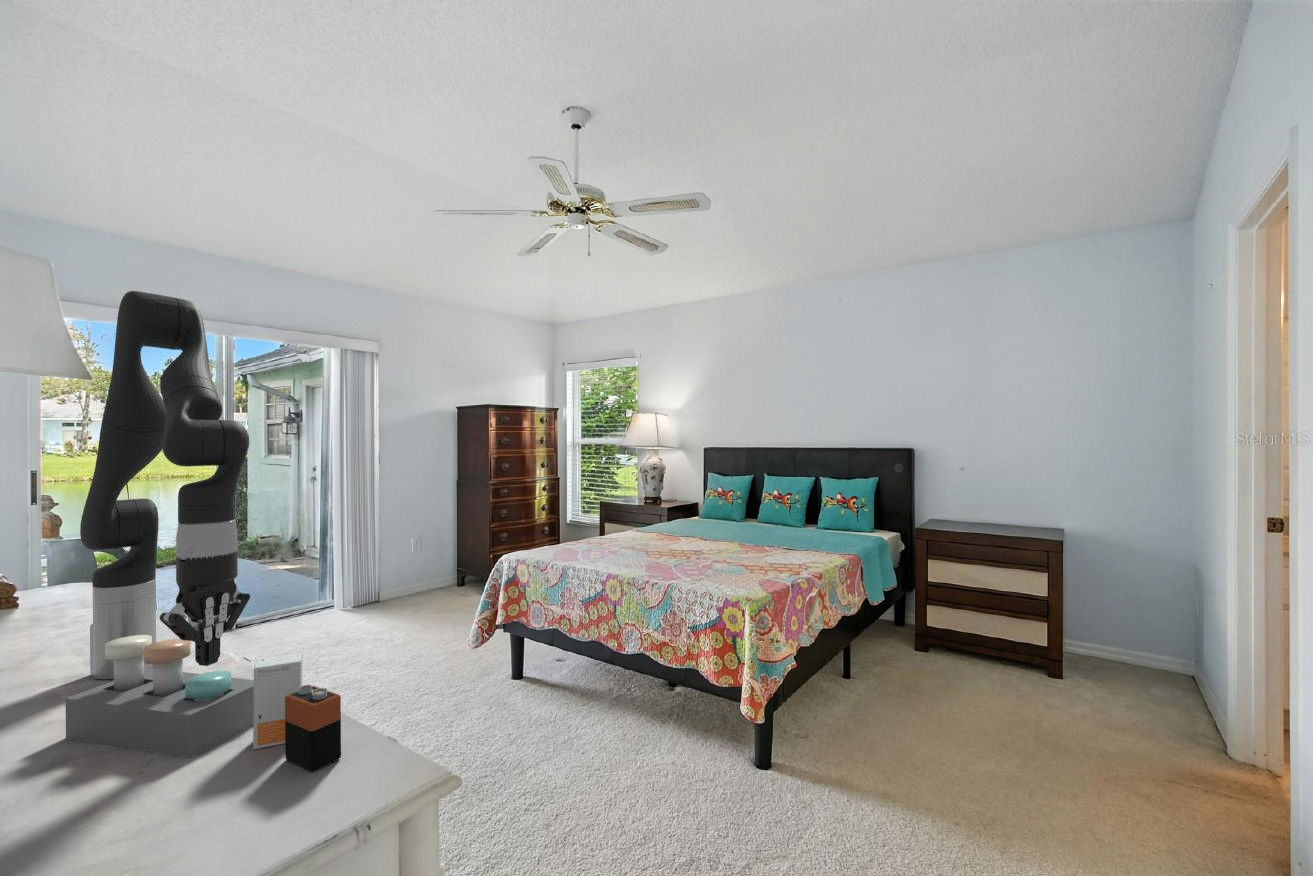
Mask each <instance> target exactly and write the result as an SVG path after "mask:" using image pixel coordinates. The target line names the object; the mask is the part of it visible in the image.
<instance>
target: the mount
mask: <svg viewBox="0 0 1313 876" xmlns="http://www.w3.org/2000/svg"><path fill="white" fill-rule="evenodd" d="M199 674H200V673H194V672H185V671H183V690H181V691H178V692H176V693H173V694H171V695H168V696H166V697H159V696H153V668H149V669H146V670H144V685H142V686H139V687H136V688H134V689H131V690H128V691H126V692H119V691H114V680H112V681H111V682H108V683H105V684H102V685H99V686H96V687H94V688H93V687H92V688H89V689H87V690H85V691H82V692H79V693H76V694H74V695H71V696H68V697H65V739H71V740H76V741H84V742H90V743H95V744H101V745H109V746H114V747H115V746H116V747H122V748H128V749H134V750H140V751H147V752H152V753H161V754H167V755H172V756H178V757H184V758H185V757H186V758H192V757H194V756H196V755H198V754H200V753H202V752H204V751H206V750H207V749H210V748H211V747H213V746H215V745H217V744H219V743H221V742H222V741H225V740H227V739H229V738H230V737H232V736H234V735H236V734H239V733H240V732H242V731H244V730H246V729H247V728H249V727H250V728H251V727H252V726H253V716H254V679H246V678H238V677H231V688H230V689H229V690H228V691H226V692H224V693H223V695H222V696H220V697H217V698H215V699H213V700H211V701H208V702H198V701H194V699H189V698H186V696H185V682H186V681H187V680H188V679H189V678H191V677H193V676H196V675H199Z"/></svg>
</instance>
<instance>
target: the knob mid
mask: <svg viewBox="0 0 1313 876" xmlns="http://www.w3.org/2000/svg"><path fill="white" fill-rule="evenodd" d="M191 642H192V641H187V640H186V641H184V640H181V639H180V638H173V639H166V640H161V641H156V643H153V644H150V645H148V646H146V647H145V648H144V663H146V664H153V668H152V669H153V696H159V697H166V696H168V695H171V694H173V693H176V692H178V691H181V690H183V672H184V670H183V669H184V668H183V667H184V666H183V661H184V660H183V659H185V658H188V657H189V656H190V655H191V654H192V653H191V651H192V650H191V647H192V646H191V644H192V643H191Z"/></svg>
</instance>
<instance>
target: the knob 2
mask: <svg viewBox="0 0 1313 876" xmlns="http://www.w3.org/2000/svg"><path fill="white" fill-rule="evenodd" d="M198 674H199V675H196V676H193V677H191V678H189V679H188V680H187V681H186V682H185V696H186V698H189V699H194V701H198V702H208V701H211V700H213V699H215V698H217V697H220V696H222V695H223V693H224V692H226V691H228V690H229V689H230V688H231V678H232V672H231V671H228V670H214V671H208V672H204V673H203V672H202V673H198Z"/></svg>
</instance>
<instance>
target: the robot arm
mask: <svg viewBox="0 0 1313 876" xmlns="http://www.w3.org/2000/svg"><path fill="white" fill-rule="evenodd" d="M117 312H118V313H117V318H116V320H117V321H116V329H115V338H114V339H115V340H114V351H113V353H114V354H113V359H112V363H113V364H112V370H111V371H112V372H111V377H110V381H109V382H110V383H109V387H108V392H107V395H106V396H107V397H106V401H105V406H104V410H103V414H102V419H101V423H100V431H99V439H98V446H97V447H98V448H97V455H96V460H95V466H94V472H93V475H92V479H91V483H90V486H89V490H88V493H87V495H86V501H85V504H84V506H83V511H82V515H81V519H80V526H79V527H80V528H79V529H80V530H79V533H80V539H81V542H82V545H83V546H84V547H85V548H87V549H88V550H90V551H91V550H92V551H105V550H112V549H113V550H115V549H121V548H122V549H124V548H129V547H130V548H129V550H128V552H127V553H125V555H124V556H122V557H120V558H119V559H117V560H115V561H113V562H111V563H109V564H106V565H104V566H102V567H99V568H97V569H96V570H94V572H93V573H92V577H91V579H92V623H91V624H90V626H89V643H90V644H89V649H90V650H89V655H90V657H89V659H90V660H89V661H90V662H89V663H90V664H89V665H90V666H89V668H90V675H92V677H93V678H94V679H96V680H114V660H108V659H105V644H106V643H107V642H109V641H112V640H115V639H119V638H123V637H128V636H135V635H150V636H152V644H153V643H156V642H157V583H156V582H157V576H156V574H157V573H156V572H157V563H158V540H159V539H158V538H159V522H160V521H159V520H160V519H159V511H158V508H157V505H156V503H155V502H154V501H153V500H152V499H150V498H133V499H132V498H129V499H119V500H118V497H119V496H120V494H121V493H122V490H123V489H124V488H125V487H126V485H127V484H128V483H129V482H130V481H131V480H132V479H133V478H134V477H136V476H137V475H138V474H139V473H140V472H141V471H143V470H144V469H145V468H146V467H147V466H148V465H149V464H151V462H153V460H154V459H156V458H157V457H158V456H159V454H160V453H161V452H163V456H164V457H165V458H166V459H167V460H168V461H169V462H170V463H172V464H174V465H176V466H177V467H211V466H212V467H214V466H216V467H217V468H216V470H215V471H214V473H213V475H211V476H210V477H209V478H206V479H202V480H198V481H194V482H193V481H192V482H190V483H186V484H184V485H182V486H180V488H178V489H179V490H178V494H177V529H176V530H177V531H176V534H175V535H176V536H175V582H176V585H177V586H178V590H179V591H178V593H177V596H176V598H175V605H174V606H172V608H171V609H169V611H168V612H163V613H161V614H160V616H159V621H160V622H161V623H162V624H164V626H166V627H167V628H168V629H169V630H170V631H171V632H172V633H174V635H176V636H177V637H178V639H181V640H184V641H186V640H187V641H191V642H194V646H195V647H194V655H195V657H194V659H195V662H196V663H197V664H198V665H199V666H204V667H209V666H211V665H213V664H217V663H218V662H219V658H220V656H221V638H222V636H223V634H224V633H225V632H227V631H231V630H232V629H234V626H235V625H236V623H237V621H238V619H239V618H240V616H241V614H242V613H243V611H244V609H245V607H247V604H248V602H249V600H250V599H251V594H250V593H246V592H241V591H239V590H238V585H237V583H236V582H235V579H237V577H238V574H239V573H238V571H239V570H238V565H239V564H238V562H239V561H238V555H239V554H238V550H239V549H238V529H237V523H236V522H237V521H236V494H237V487H238V483H239V479H240V475H241V473H242V470H243V469H242V468H243V465H244V463H245V461H246V458H247V454H248V451H249V448H250V435H249V433H248V430H247V428H246V427H245V426H244V425H243V424H242V423H241V422H239V421H237V420H232V419H231V420H229V419H221V417H222V415H223V405H222V402H221V399H220V396H219V393H218V391H217V389H216V386H215V383H214V381H213V377H212V374H211V369H210V363H209V362H210V361H209V352H208V344H207V337H206V331H205V330H206V329H205V324H204V319H203V315H202V313H201V310H200V309H199V307H198V305H197V304H195V303H194V302H193V301H190V300H187V299H183V298H179V297H173V296H170V295H169V296H167V295H162V294H156V293H151V292H145V291H138V290H130V291H127V292H126V293H124V295H123V296H122V299H121V301H120V303H119V307H118V311H117ZM143 347H149V348H150V347H151V348H159V349H166V350H173V351H175V350H176V351H178V350H179V351H181V352H180V354H179V355H178V356H177V357H176V358H175V359H174V360H173V361H172V362H170V364H169V365H168V366H167V367H166V368H165V369H164V371H163V372H162V375H161V376H160V381H159V388H160V393H159V392H158V390H157V389H156V387H155V386H154V384H153V382H152V381H151V380H150V378H149V375H148V374H147V372H146V370H145V367H144V365H143V363H142V362H143V361H142V353H141V352H142V348H143ZM186 619H187V620H188V621H187V620H186ZM149 668H152V669H153V664H146V663H144V670H146V669H149Z"/></svg>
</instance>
